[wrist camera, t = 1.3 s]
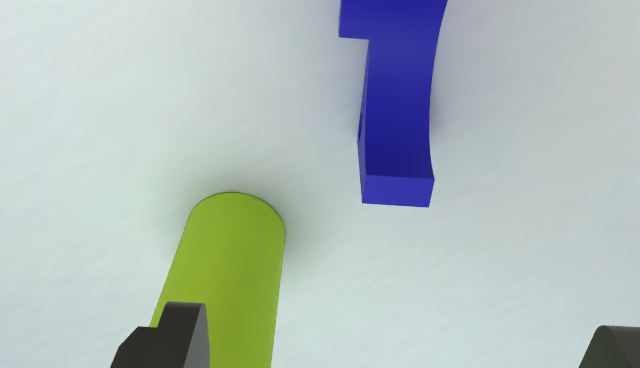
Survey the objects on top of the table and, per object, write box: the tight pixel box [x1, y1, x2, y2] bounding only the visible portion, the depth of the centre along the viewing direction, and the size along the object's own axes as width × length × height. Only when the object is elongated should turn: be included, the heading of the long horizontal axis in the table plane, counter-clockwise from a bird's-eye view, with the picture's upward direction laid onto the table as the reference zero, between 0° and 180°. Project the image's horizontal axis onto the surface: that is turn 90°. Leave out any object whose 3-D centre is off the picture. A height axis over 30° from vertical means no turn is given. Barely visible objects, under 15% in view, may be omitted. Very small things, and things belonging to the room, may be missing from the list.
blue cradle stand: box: [339, 0, 448, 207], centre depth 24 cm, size 12×4×6 cm, turn 176°
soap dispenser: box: [149, 193, 285, 368], centre depth 24 cm, size 6×7×20 cm
